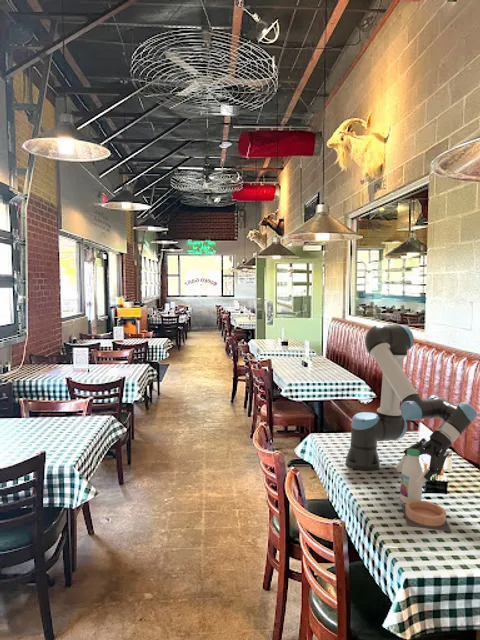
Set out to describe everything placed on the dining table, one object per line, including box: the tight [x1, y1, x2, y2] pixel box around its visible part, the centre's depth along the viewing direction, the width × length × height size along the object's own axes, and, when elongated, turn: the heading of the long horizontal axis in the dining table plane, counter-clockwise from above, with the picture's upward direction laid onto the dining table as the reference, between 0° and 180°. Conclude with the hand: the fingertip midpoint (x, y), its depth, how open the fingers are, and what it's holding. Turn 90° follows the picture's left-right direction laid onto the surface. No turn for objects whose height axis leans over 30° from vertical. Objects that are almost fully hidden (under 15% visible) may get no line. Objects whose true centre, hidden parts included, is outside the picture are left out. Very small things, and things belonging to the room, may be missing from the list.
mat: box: [400, 504, 453, 532], centre depth 163 cm, size 14×16×1 cm
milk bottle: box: [399, 448, 424, 504], centre depth 176 cm, size 8×8×20 cm
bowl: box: [404, 499, 447, 527], centre depth 163 cm, size 13×13×3 cm
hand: (407, 476), depth 176 cm, fingers open, 13 cm apart
